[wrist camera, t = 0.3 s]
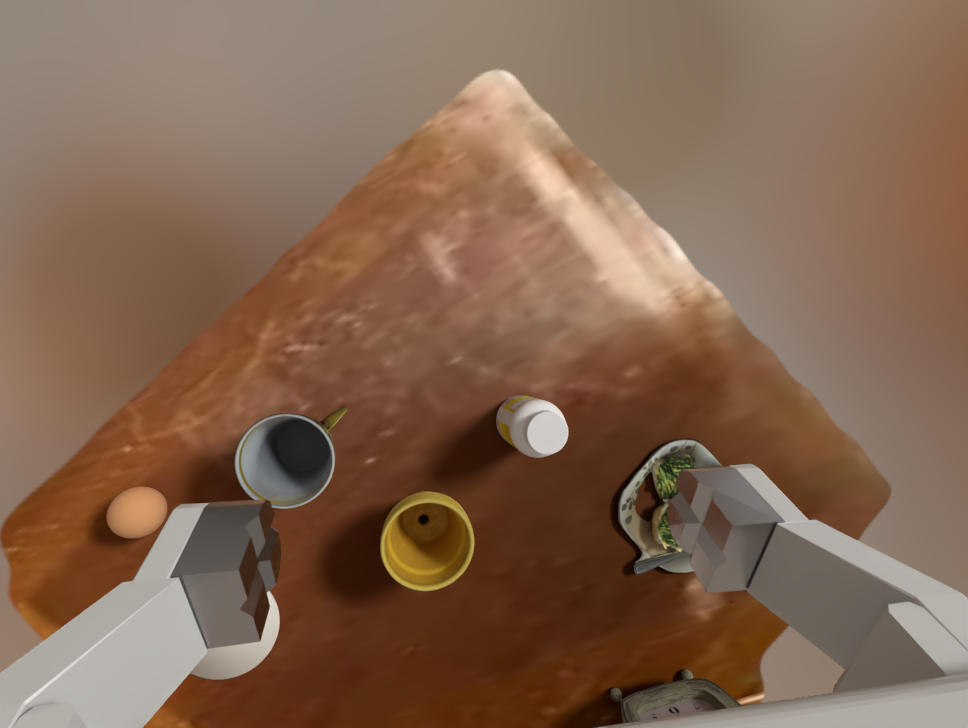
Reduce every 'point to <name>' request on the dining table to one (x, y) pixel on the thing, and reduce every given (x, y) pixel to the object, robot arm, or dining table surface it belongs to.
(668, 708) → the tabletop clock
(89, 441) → the dining table surface
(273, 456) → the ceramic cup
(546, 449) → the supplement bottle
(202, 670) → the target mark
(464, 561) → the plant pot
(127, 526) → the ball
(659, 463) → the avocado toast plate
